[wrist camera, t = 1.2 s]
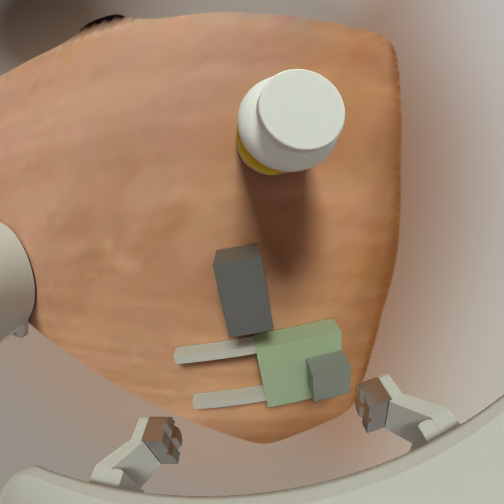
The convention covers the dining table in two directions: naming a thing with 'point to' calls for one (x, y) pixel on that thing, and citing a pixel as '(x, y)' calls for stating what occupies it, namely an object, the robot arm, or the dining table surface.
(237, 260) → the grey rectangular block
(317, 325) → the two-prong power plug
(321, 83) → the supplement bottle
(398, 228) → the dining table surface
